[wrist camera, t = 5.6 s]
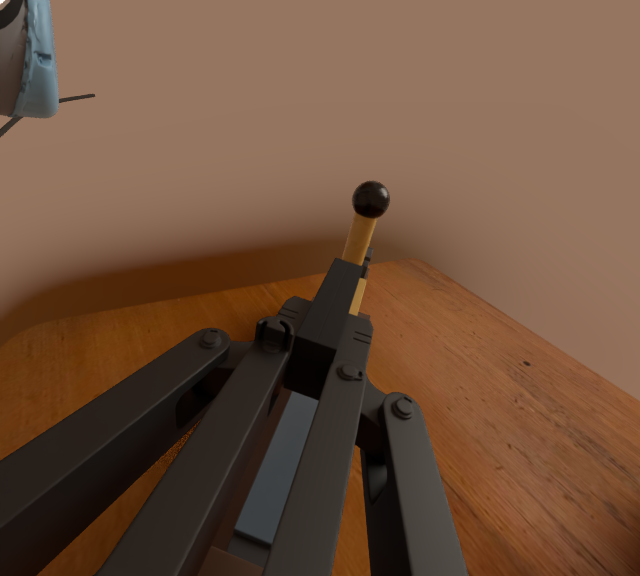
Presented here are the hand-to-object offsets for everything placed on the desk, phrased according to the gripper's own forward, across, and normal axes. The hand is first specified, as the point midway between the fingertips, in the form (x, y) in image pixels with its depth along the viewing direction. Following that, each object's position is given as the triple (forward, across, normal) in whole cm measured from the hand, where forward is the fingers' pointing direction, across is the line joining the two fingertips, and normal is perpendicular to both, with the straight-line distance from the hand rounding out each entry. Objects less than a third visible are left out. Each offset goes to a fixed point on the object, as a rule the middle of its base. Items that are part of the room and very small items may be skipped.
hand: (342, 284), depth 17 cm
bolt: (+7, 0, -6) cm, 9 cm away
